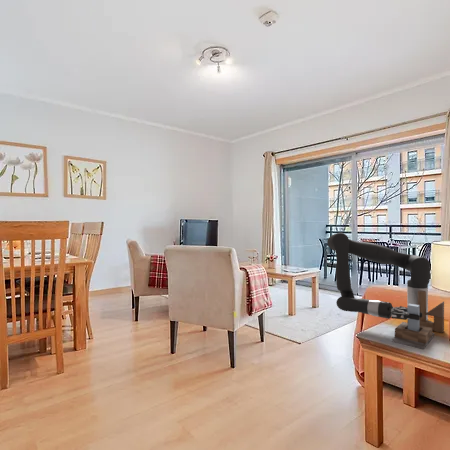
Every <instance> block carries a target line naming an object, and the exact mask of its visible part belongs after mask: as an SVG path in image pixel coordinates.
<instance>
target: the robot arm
mask: <svg viewBox="0 0 450 450" xmlns="http://www.w3.org/2000/svg"><path fill="white" fill-rule="evenodd" d="M326 242H327V243H326V244H327V246H328V247H329V249H331V250H332V251H334V253H335V256H336V265H335V282H336V288H337V291H339V292H340V295H341V296H339V297H338V298H337V300H336V307H337V308H338V309H339V310H341V311H344V312H354V313H361V314H364V315H370V316H372V317H377V318H382V319H388V320H390V319H395V320H405V321H406V320H407V321H408V319H409V318H410V319H414V320H420V318H421V317H422V312H420V316H419V315H416V314H411V313H410V314H409V313H408V304H415V305H418V291H419V290H423V291H426V313H427V312H429V283H430V281H431V280H430V279H431V265H430V261H429V260H428V258H426V257H423V256H419V255H414V254H408V253H403V252H398V251H397V250H394V249H393V248H389V247H388V246H387V247H386V246H384V245H381V244H377V243H372V242H367V241H366V242H365V241H357V240H352V239H349V237H348V235H347V234H345V233H344V232H336V233H334V234H332V235H330V236H329V237H328V238H327V241H326ZM350 254H351V255H354V256H356V257H359V258H362V259H365V260H368V261H371V262H375V263H378V264H383V265H389V266H395V267H398V268H401V269H403V270H406V271H408V272H410V279H409V280H407V281H406V282H407V284H406V285H407V286H406V287H407V288H406V293H407V295H406V297H407V298H406V299H407V307H405V306H402V305H400V306H393V305H392V304H393V303H391V302H389V301H383V300H382V301H381V300H376V299H368V298H367V299H366V298H355V295H354V292H353V288H352V282H351V275H350V262H349V261H350V259H349V258H350V257H349V255H350ZM426 320H428V321H429V315H426Z"/></svg>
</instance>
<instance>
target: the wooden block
mask: <svg viewBox="0 0 450 450" xmlns="http://www.w3.org/2000/svg"><path fill="white" fill-rule="evenodd" d="M418 305H420V312H422V317H421V318H420V325H421V326H426V327H431V328H432V332H436V333H441V334H442V333H444V331H445V301H442V302H440V303H439V304H438V305H436V306H434V307H433V308H432V309H430V310H428V312H427V313H426V291H423V290H419V291H418ZM426 315H428V316H430V317H431V316H432V317H433V321H432V320H429V319H428V320H426Z"/></svg>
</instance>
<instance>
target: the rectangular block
mask: <svg viewBox="0 0 450 450" xmlns="http://www.w3.org/2000/svg"><path fill="white" fill-rule="evenodd" d="M408 313H409V314H410V313H411V314H416V315H419V316H420V305H415V304H408ZM407 323H408V330H413V331H418V332H420V320H414V319H410V318H409V319H407Z"/></svg>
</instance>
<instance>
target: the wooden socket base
mask: <svg viewBox="0 0 450 450" xmlns="http://www.w3.org/2000/svg"><path fill="white" fill-rule="evenodd" d="M434 336H435V332H433V331H432V328H431V327H426V326H421V325H420V332H418V331H413V330H408V322H405V321H402V322H401V323H400V324H398V326H396V327H395V328H394V337H392V338H391V342H392V343H397V344H401V345H405V346H409V347H413V348H418V349H421V350H425V348H426V346H427V345H428V344H429V343H430V342H431V340H432V339H433V337H434Z"/></svg>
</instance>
